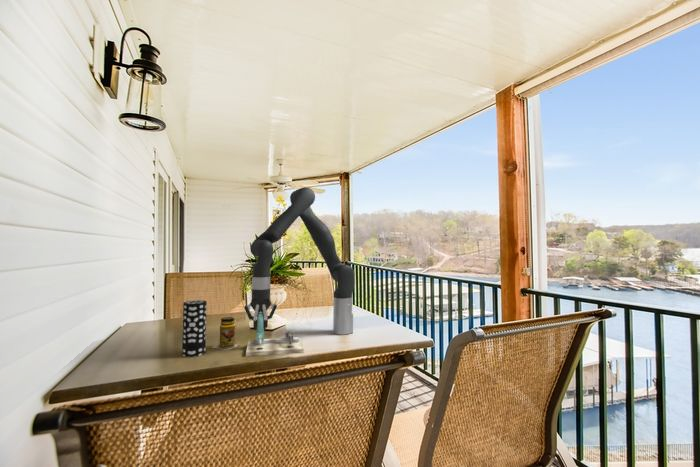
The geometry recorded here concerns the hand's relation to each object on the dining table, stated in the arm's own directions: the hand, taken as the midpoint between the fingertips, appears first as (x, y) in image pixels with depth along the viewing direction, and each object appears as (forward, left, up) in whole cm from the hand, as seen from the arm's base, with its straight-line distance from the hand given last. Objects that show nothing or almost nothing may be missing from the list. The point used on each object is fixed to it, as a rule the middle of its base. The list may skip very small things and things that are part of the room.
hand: (260, 328), depth 141 cm
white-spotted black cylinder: (+25, +3, -8) cm, 26 cm away
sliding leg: (0, +3, -5) cm, 6 cm away
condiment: (+14, -4, -8) cm, 17 cm away
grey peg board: (-6, +4, -8) cm, 10 cm away
